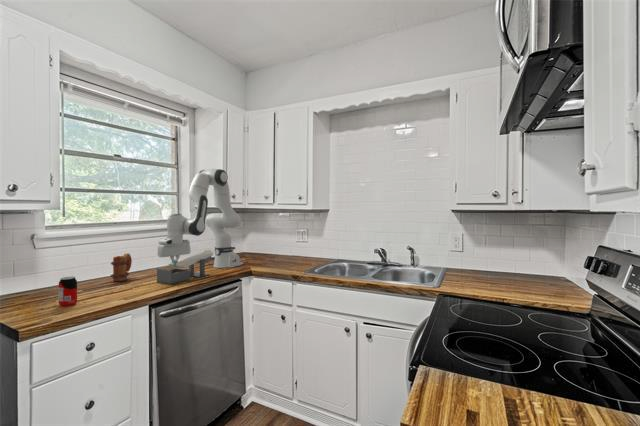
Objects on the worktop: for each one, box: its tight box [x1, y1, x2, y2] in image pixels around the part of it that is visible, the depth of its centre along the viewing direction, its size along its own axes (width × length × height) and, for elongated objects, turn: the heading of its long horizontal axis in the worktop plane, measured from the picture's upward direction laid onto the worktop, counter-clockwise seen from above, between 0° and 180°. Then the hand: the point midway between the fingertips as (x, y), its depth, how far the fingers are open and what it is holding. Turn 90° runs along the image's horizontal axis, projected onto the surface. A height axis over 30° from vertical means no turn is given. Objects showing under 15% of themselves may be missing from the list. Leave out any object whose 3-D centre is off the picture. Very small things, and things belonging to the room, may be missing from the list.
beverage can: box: [58, 276, 78, 307], centre depth 138 cm, size 6×6×12 cm
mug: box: [110, 253, 133, 282], centre depth 187 cm, size 15×8×15 cm, turn 179°
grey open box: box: [156, 267, 191, 286], centre depth 182 cm, size 13×13×8 cm
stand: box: [188, 259, 211, 279], centre depth 196 cm, size 8×14×11 cm, turn 60°
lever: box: [168, 249, 214, 269], centre depth 197 cm, size 22×16×6 cm
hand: (174, 263), depth 191 cm, fingers closed
